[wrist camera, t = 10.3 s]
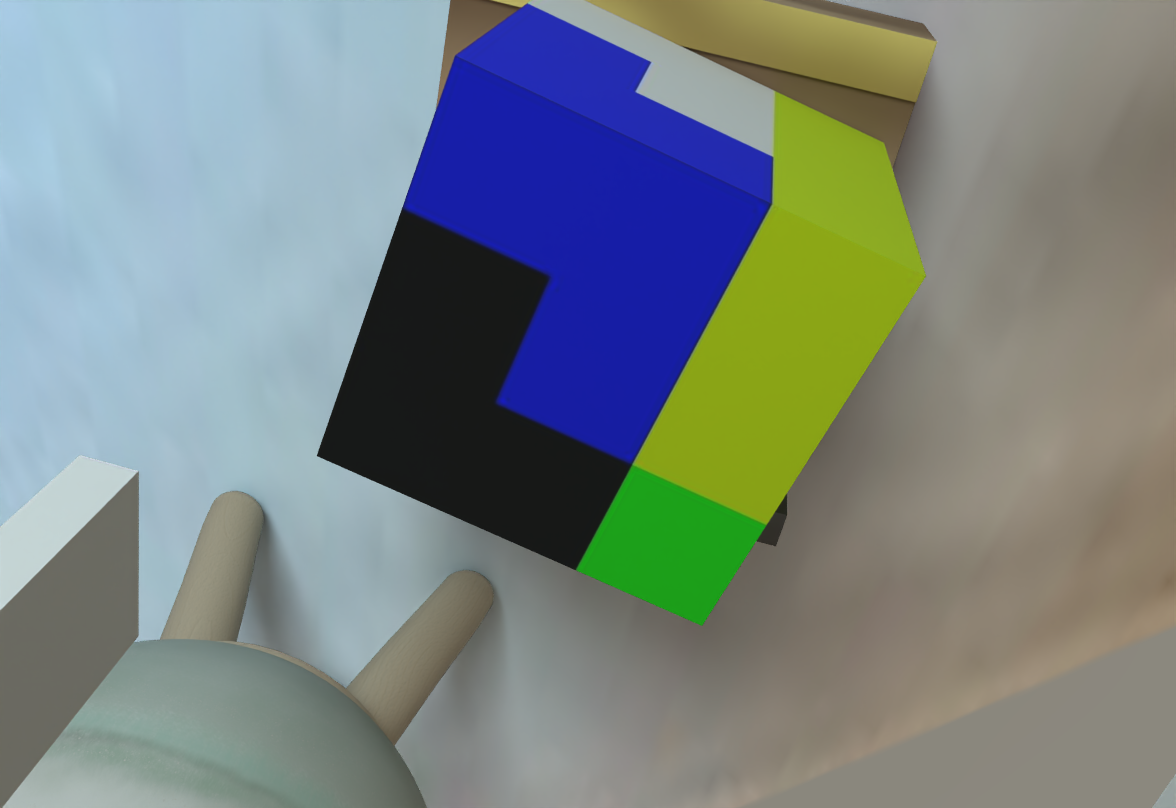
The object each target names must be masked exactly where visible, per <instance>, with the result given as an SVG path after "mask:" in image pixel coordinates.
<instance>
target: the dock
mask: <svg viewBox="0 0 1176 808" xmlns="http://www.w3.org/2000/svg"><path fill="white" fill-rule="evenodd" d="M530 1H531V0H451V1H450V8H449V16H448V24H447V31H446V39H445V46H444V54H443V62H442V69H441V77H440V85H439V92H438V100H437V106H438V103H439V100H440V97H441V94H442V91H443V89H444V86H445V83H446V80H447V77H448V74H449V71H450V68H451V65H452V62H453V60H454V57H455V55H456V54H457V53H459V52H460V51H462V50H463V49H464V48H466V47H467V46H469V45H470V44H471V43H473V42H474V41H476V40H477V39H478V38H480V37H481V36H482V35H484V34H485V33H487V32H488V31H489V30H491V29H492V28H494V27H495V26H496V25H498V24H499V23H500V22H502V21H503V20H505V19H506V18H507V17H509V16H510V15H512V14H513V13H514V12H516V11H517V10H518V9H520V8H521V7H523V6H524V5H525V4H527V3H528V2H530ZM585 1H587V2H589V3H591V4H593V5H595V6H597V7H600V8H602V9H604V10H606V11H608V12H610V13H612V14H614V15H616V16H619V17H621V18H623V19H625V20H627V21H629V22H631V23H633V24H635V25H637V26H640V27H642V28H644V29H646V30H648V31H650V32H652V33H654V34H656V35H658V36H661V37H663V38H665V39H667V40H669V41H671V42H673V43H675V44H677V45H680V46H682V47H684V48H686V49H688V50H690V51H692V52H694V53H696V54H698V55H701V56H703V57H705V58H707V59H709V60H711V61H713V62H715V63H717V64H720V65H722V66H724V67H726V68H728V69H730V70H732V71H734V72H736V73H738V74H741V75H743V76H745V77H747V78H749V79H751V80H753V81H755V82H757V83H760V84H762V85H764V86H766V87H768V88H770V89H772V90H774V91H776V92H778V93H781V94H783V95H785V96H787V97H789V98H791V99H793V100H795V101H797V102H799V103H802V104H804V105H806V106H808V107H810V108H812V109H814V110H816V111H818V112H821V113H823V114H825V115H827V116H829V117H831V118H833V119H835V120H837V121H839V122H842V123H844V124H846V125H848V126H850V127H852V128H854V129H856V130H858V131H861V132H863V133H865V134H867V135H869V136H871V137H873V138H875V139H877V140H879V141H882V142H884V144H885V148H886V151H887V154H888V157H889V160H890V163H891V167H892V168H893V165H894V162H895V160H896V157H897V154H898V151H899V148H900V145H901V142H902V139H903V137H904V134H905V131H906V128H907V125H908V122H909V119H910V116H911V114H912V111H913V108H914V105H915V102H916V101H917V98H918V95H919V93H920V90H921V87H922V84H923V81H924V78H925V75H926V73H927V70H928V67H929V64H930V61H931V58H932V55H933V52H934V50H935V47H936V44H937V41H936V40H935V39H934V37H933V36H932V35H931V33H930V32H929V31H928V29H927V28H926V27H925V25H924V24H922V23H918V22H914V21H910V20H905V19H901V18H897V17H893V16H889V15H884V14H880V13H876V12H872V11H868V10H863V9H859V8H855V7H851V6H846V5H842V4H838V3H834V2H830V1H825V0H585ZM436 109H437V107H436ZM786 516H787V494H786V495H785V497H784V499H783V500H782V502H781V503H780V505H779V506H778V508H777V510H776V511H775V513H774V514H773V516H772V517H771V519H770V520H769V522H768V524H767V525H766V527H765V528H764V530H763V531H762V533H761V535H760V536H759V538H758V539H757V541H758V542H762V543H766V544H769V545H773V546H776V544H777V542H778V539H779V536H780V533H781V530H782V528H783V525H784V522H785V519H786Z"/></svg>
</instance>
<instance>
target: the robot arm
mask: <svg viewBox="0 0 1176 808" xmlns="http://www.w3.org/2000/svg"><path fill="white" fill-rule="evenodd" d="M138 581H139V471H136V470H133V469H129V468H125V467H122V466H118V465H114V464H111V463H107V462H103V461H100V460H96V459H92V458H89V457H85V456H81V455H79V456H78V457H77V458H76V459H75V460H74V461H73V462H72V463H70V464H69V465H68V466H67V467H66V468H65V469H64V470H63V471H62V472H60V473H59V474H58V475H57V476H56V477H55V478H54V479H53V480H52V481H50V482H49V483H48V484H47V485H46V486H45V487H44V488H43V489H42V490H40V491H39V492H38V493H37V494H36V495H35V496H34V497H33V498H32V499H30V500H29V501H28V502H27V503H26V504H25V505H24V506H23V507H22V508H20V509H19V510H18V511H17V512H16V513H15V514H14V515H13V516H12V517H10V518H9V519H8V520H7V521H6V522H5V523H4V524H3V525H2V526H0V808H2V807H3V806H4V805H5V804H6V802H7V801H8V800H9V799H10V797H11V796H12V795H13V793H14V792H15V791H16V790H17V788H18V787H19V786H20V785H21V783H22V782H23V781H24V780H25V778H26V777H27V776H28V775H29V773H30V772H31V771H32V770H33V768H34V767H35V766H36V764H37V763H38V762H39V761H40V759H41V758H42V757H43V756H44V754H45V753H46V752H47V751H48V749H49V748H50V747H51V746H52V744H53V743H54V742H55V741H56V739H57V738H58V737H59V736H60V734H61V733H62V732H63V730H64V729H65V728H66V727H67V725H68V724H69V723H70V722H71V720H72V719H73V718H74V717H75V715H76V714H77V713H78V712H79V710H80V709H81V708H82V707H83V705H84V704H85V703H86V701H87V700H88V699H89V698H90V696H91V695H92V694H93V693H94V691H95V690H96V689H97V688H98V686H99V685H100V684H101V683H102V681H103V680H104V679H105V678H106V676H107V675H108V674H109V672H110V671H111V670H112V669H113V667H114V666H115V665H116V664H117V662H118V661H119V660H120V659H121V657H122V656H123V655H124V654H125V652H126V651H127V650H128V649H129V647H130V646H131V645H132V643H133V642H134V641H135V640H136V638H137V637H138ZM1152 808H1176V774H1175V776H1174V777H1173V779H1172V780H1171V781H1170V783H1169V784H1168V786H1167V787H1166V789H1165V790H1164V791H1163V793H1162V794H1161V796H1160V797H1159V799H1158V800H1157V802H1156V803H1155V804H1154V806H1153V807H1152Z"/></svg>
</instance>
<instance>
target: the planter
mask: <svg viewBox="0 0 1176 808" xmlns="http://www.w3.org/2000/svg"><path fill="white" fill-rule="evenodd" d="M263 520H264V519H263V511H262V509H261V507H260V505H259V503H258V502H257V501H256V500H255V499H254V498H253V497H251V496H250V495H248V494H246V493H243V492H239V491H230V492H226V493H223V494H221V495H220V496H219V497H217V498H216V499H215V500H214V502H213V503H212V506H211V508H210V510H209V512H208V514H207V516H206V519H205V521H204V523H203V525H202V528H201V531H200V534H199V537H198V539H197V542H196V545H195V548H194V551H193V554H192V556H191V559H190V562H189V565H188V568H187V571H186V573H185V576H184V579H183V582H182V585H181V587H180V590H179V592H178V595H177V597H176V600H175V602H174V605H173V607H172V610H171V612H170V615H169V617H168V620H167V623H166V625H165V628H164V630H163V633H162V635H161V638H160V640H149V641H140V642H133V643H132V645H131V646H130V647H129V649H128V650H127V651H126V652H125V654H124V655H123V656H122V657H121V659H120V660H119V661H118V662H117V664H116V665H115V666H114V667H113V669H112V670H111V671H110V672H109V674H108V675H107V676H106V678H105V679H104V680H103V681H102V683H101V684H100V685H99V686H98V688H97V689H96V690H95V691H94V693H93V694H92V695H91V696H90V698H89V699H88V700H87V701H86V703H85V704H84V705H83V707H82V708H81V709H80V710H79V712H78V713H77V714H76V715H75V717H74V718H73V719H72V720H71V722H70V723H69V724H68V725H67V727H66V728H65V729H64V730H63V732H62V733H61V734H60V736H59V737H58V738H57V739H56V741H55V742H54V743H53V744H52V746H51V747H50V748H49V749H48V751H47V752H46V753H45V754H44V756H43V757H42V758H41V759H40V761H39V762H38V763H37V764H36V766H35V767H34V768H33V770H32V771H31V772H30V773H29V775H28V776H27V777H26V778H25V780H24V781H23V782H22V783H21V785H20V786H19V787H18V788H17V790H16V791H15V792H14V793H13V795H12V796H11V797H10V799H9V800H8V801H7V802H6V804H5V805H4V806H3V807H2V808H427V807H426V804H425V802H424V799H423V797H422V795H421V793H420V790H419V788H418V786H417V784H416V782H415V780H414V778H413V776H412V774H411V772H410V771H409V769H408V767H407V765H406V764H405V762H404V760H403V759H402V757H401V756H400V754H399V753H398V751H397V750H396V748H395V747H394V746H395V744H396V743H397V741H398V740H399V738H400V737H401V735H402V734H403V733H404V731H405V730H406V728H407V727H408V725H409V724H410V722H411V721H412V719H413V718H414V717H415V715H416V714H417V712H418V711H419V709H420V708H421V706H422V705H423V704H424V702H425V701H426V699H427V698H428V696H429V695H430V693H431V692H432V691H433V689H434V688H435V686H436V685H437V683H438V682H439V680H440V679H441V678H442V676H443V675H444V674H445V672H446V671H447V670H448V668H449V667H450V665H451V664H452V663H453V661H454V660H455V659H456V657H457V656H458V654H459V653H460V652H461V650H462V649H463V648H464V646H465V645H466V643H467V642H468V641H469V639H470V638H471V637H472V635H473V634H474V633H475V631H476V630H477V628H478V627H479V625H480V624H481V622H482V620H483V619H484V617H485V616H486V614H487V612H488V611H489V609H490V608H491V606H492V603H493V597H494V593H493V589H492V586H491V584H490V583H489V581H488V580H487V579H486V578H485V577H484V576H482V575H481V574H479V573H477V572H474V571H470V570H462V571H458V572H455V573H453V574H451V575H450V576H448V577H447V578H446V579H445V581H444V582H443V583H442V584H441V585H440V586H439V587H438V588H437V589H436V590H435V591H434V592H433V594H432V595H431V596H430V597H429V598H428V599H427V600H426V601H425V602H424V603H423V604H422V605H421V606H420V607H419V609H418V610H417V611H416V612H415V613H414V614H413V615H412V616H411V617H410V618H409V619H408V620H407V621H406V622H405V623H404V624H403V626H402V627H401V628H400V629H399V630H398V631H397V632H396V633H395V634H394V635H393V636H392V637H391V638H390V639H389V640H388V642H387V643H386V644H385V645H384V646H383V647H382V648H381V649H380V650H379V652H378V653H377V654H376V655H375V656H374V657H373V658H372V659H371V661H370V662H369V663H368V664H367V665H366V666H365V667H364V668H363V670H362V671H361V672H360V673H359V674H358V675H357V676H356V677H355V679H354V680H353V681H352V682H351V683H350V684H349V685H348V686H347V688H346V689H345V688H344V687H343V686H342V685H341V684H339V683H338V682H336V681H335V680H333V679H332V678H331V677H329V676H328V675H326V674H325V673H323V672H322V671H320V670H318V669H316V668H314V667H313V666H311V665H309V664H307V663H305V662H303V661H302V660H299V659H297V658H294V657H292V656H289V655H287V654H284V653H282V652H279V651H276V650H273V649H269V648H266V647H262V646H258V645H255V644H248V643H242V642H237V638H238V634H239V630H240V626H241V622H242V618H243V614H244V610H245V606H246V601H247V596H248V591H249V586H250V581H251V577H252V572H253V567H254V562H255V557H256V553H257V548H258V543H259V539H260V534H261V530H262V526H263Z"/></svg>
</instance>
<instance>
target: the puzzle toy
mask: <svg viewBox="0 0 1176 808" xmlns="http://www.w3.org/2000/svg"><path fill="white" fill-rule="evenodd" d="M925 277H926V274H925V271H924V268H923V265H922V262H921V258H920V255H919V252H918V249H917V246H916V243H915V239H914V236H913V233H912V230H911V227H910V224H909V220H908V217H907V214H906V211H905V208H904V205H903V201H902V198H901V195H900V192H899V189H898V186H897V182H896V179H895V176H894V173H893V170H892V167H891V163H890V160H889V157H888V154H887V151H886V148H885V144H884V142H882V141H879V140H877V139H875V138H873V137H871V136H869V135H867V134H865V133H863V132H861V131H858V130H856V129H854V128H852V127H850V126H848V125H846V124H844V123H842V122H839V121H837V120H835V119H833V118H831V117H829V116H827V115H825V114H823V113H821V112H818V111H816V110H814V109H812V108H810V107H808V106H806V105H804V104H802V103H799V102H797V101H795V100H793V99H791V98H789V97H787V96H785V95H783V94H781V93H778V92H776V91H774V90H772V89H770V88H768V87H766V86H764V85H762V84H760V83H757V82H755V81H753V80H751V79H749V78H747V77H745V76H743V75H741V74H738V73H736V72H734V71H732V70H730V69H728V68H726V67H724V66H722V65H720V64H717V63H715V62H713V61H711V60H709V59H707V58H705V57H703V56H701V55H698V54H696V53H694V52H692V51H690V50H688V49H686V48H684V47H682V46H680V45H677V44H675V43H673V42H671V41H669V40H667V39H665V38H663V37H661V36H658V35H656V34H654V33H652V32H650V31H648V30H646V29H644V28H642V27H640V26H637V25H635V24H633V23H631V22H629V21H627V20H625V19H623V18H621V17H619V16H616V15H614V14H612V13H610V12H608V11H606V10H604V9H602V8H600V7H597V6H595V5H593V4H591V3H589V2H587V1H585V0H531V1H530V2H528V3H527V4H525V5H524V6H523V7H521V8H520V9H518V10H517V11H516V12H514V13H513V14H512V15H510V16H509V17H507V18H506V19H505V20H503V21H502V22H500V23H499V24H498V25H496V26H495V27H494V28H492V29H491V30H489V31H488V32H487V33H485V34H484V35H482V36H481V37H480V38H478V39H477V40H476V41H474V42H473V43H471V44H470V45H469V46H467V47H466V48H464V49H463V50H462V51H460V52H459V53H457V54H456V55H455V57H454V60H453V62H452V65H451V68H450V71H449V74H448V77H447V80H446V83H445V86H444V89H443V91H442V94H441V97H440V100H439V103H438V106H437V109H436V112H435V115H434V118H433V120H432V123H431V126H430V129H429V132H428V135H427V138H426V141H425V144H424V147H423V149H422V152H421V155H420V158H419V161H418V164H417V167H416V170H415V173H414V176H413V178H412V181H411V184H410V187H409V190H408V193H407V196H406V199H405V202H404V205H403V207H402V210H401V213H400V216H399V219H398V222H397V225H396V228H395V231H394V234H393V236H392V239H391V242H390V245H389V248H388V251H387V254H386V257H385V260H384V262H383V265H382V268H381V271H380V274H379V277H378V280H377V283H376V286H375V289H374V291H373V294H372V297H371V300H370V303H369V306H368V309H367V312H366V315H365V318H364V320H363V323H362V326H361V329H360V332H359V335H358V338H357V341H356V344H355V347H354V349H353V352H352V355H351V358H350V361H349V364H348V367H347V370H346V373H345V376H344V378H343V381H342V384H341V387H340V390H339V393H338V396H337V399H336V402H335V405H334V407H333V410H332V413H331V416H330V419H329V422H328V425H327V428H326V431H325V434H324V436H323V439H322V442H321V445H320V448H319V451H318V454H317V456H318V457H320V458H323V459H325V460H327V461H329V462H332V463H334V464H336V465H338V466H341V467H343V468H345V469H347V470H350V471H352V472H354V473H357V474H359V475H361V476H363V477H366V478H368V479H370V480H372V481H375V482H377V483H379V484H381V485H384V486H386V487H388V488H391V489H393V490H395V491H397V492H400V493H402V494H404V495H406V496H409V497H411V498H413V499H416V500H418V501H420V502H422V503H425V504H427V505H429V506H431V507H434V508H436V509H438V510H440V511H443V512H445V513H447V514H450V515H452V516H454V517H456V518H459V519H461V520H463V521H465V522H468V523H470V524H472V525H474V526H477V527H479V528H481V529H484V530H486V531H488V532H490V533H493V534H495V535H497V536H499V537H502V538H504V539H506V540H508V541H511V542H513V543H515V544H518V545H520V546H522V547H524V548H527V549H529V550H531V551H533V552H536V553H538V554H540V555H542V556H545V557H547V558H549V559H552V560H554V561H556V562H558V563H561V564H563V565H565V566H567V567H570V568H572V569H574V570H577V571H579V572H581V573H583V574H586V575H588V576H590V577H592V578H595V579H597V580H599V581H601V582H604V583H606V584H608V585H611V586H613V587H615V588H617V589H620V590H622V591H624V592H626V593H629V594H631V595H633V596H635V597H638V598H640V599H642V600H645V601H647V602H649V603H651V604H654V605H656V606H658V607H660V608H663V609H665V610H667V611H669V612H672V613H674V614H676V615H679V616H681V617H683V618H685V619H688V620H690V621H692V622H694V623H697V624H699V625H701V626H702V625H703V624H704V622H705V620H706V619H707V617H708V616H709V614H710V613H711V611H712V609H713V608H714V606H715V605H716V603H717V602H718V600H719V599H720V597H721V595H722V594H723V592H724V591H725V589H726V588H727V586H728V584H729V583H730V581H731V580H732V578H733V577H734V575H735V574H736V572H737V570H738V569H739V567H740V566H741V564H742V563H743V561H744V559H745V558H746V556H747V555H748V553H749V552H750V550H751V549H752V547H753V545H754V544H755V542H756V541H757V539H758V538H759V536H760V535H761V533H762V531H763V530H764V528H765V527H766V525H767V524H768V522H769V520H770V519H771V517H772V516H773V514H774V513H775V511H776V510H777V508H778V506H779V505H780V503H781V502H782V500H783V499H784V497H785V495H786V494H787V492H788V491H789V489H790V488H791V486H792V485H793V483H794V481H795V480H796V478H797V477H798V475H799V474H800V472H801V470H802V469H803V467H804V466H805V464H806V463H807V461H808V460H809V458H810V456H811V455H812V453H813V452H814V450H815V449H816V447H817V445H818V444H819V442H820V441H821V439H822V438H823V436H824V435H825V433H826V431H827V430H828V428H829V427H830V425H831V424H832V422H833V420H834V419H835V417H836V416H837V414H838V413H839V411H840V410H841V408H842V406H843V405H844V403H845V402H846V400H847V399H848V397H849V396H850V394H851V392H852V391H853V389H854V388H855V386H856V385H857V383H858V381H859V380H860V378H861V377H862V375H863V374H864V372H865V371H866V369H867V367H868V366H869V364H870V363H871V361H872V360H873V358H874V356H875V355H876V353H877V352H878V350H879V349H880V347H881V346H882V344H883V342H884V341H885V339H886V338H887V336H888V335H889V333H890V331H891V330H892V328H893V327H894V325H895V324H896V322H897V321H898V319H899V317H900V316H901V314H902V313H903V311H904V310H905V308H906V306H907V305H908V303H909V302H910V300H911V299H912V297H913V296H914V294H915V292H916V291H917V289H918V288H919V286H920V285H921V283H922V282H923V280H924V278H925Z"/></svg>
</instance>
